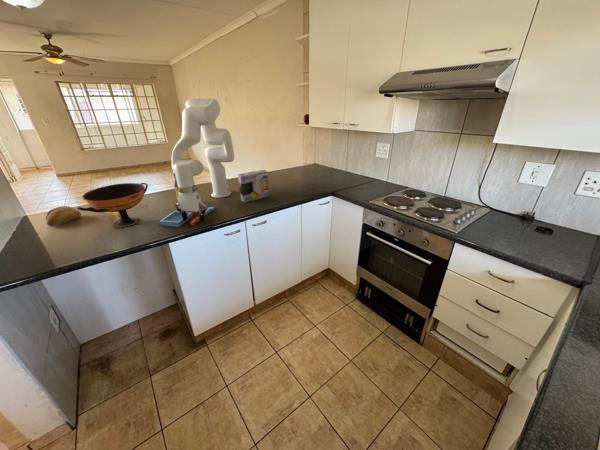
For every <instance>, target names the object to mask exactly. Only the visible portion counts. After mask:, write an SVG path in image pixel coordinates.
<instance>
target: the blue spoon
mask: <svg viewBox="0 0 600 450" xmlns="http://www.w3.org/2000/svg"><path fill="white" fill-rule="evenodd" d="M207 207H208V208H207V211H206V212H205V213H204V216H207V215H208V214H210V213H211V212H212V211H214V210H215V206H207Z"/></svg>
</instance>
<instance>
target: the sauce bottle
mask: <svg viewBox="0 0 600 450" xmlns="http://www.w3.org/2000/svg"><path fill="white" fill-rule="evenodd" d="M172 174H173V177H174V184H173V185H174V190H175V194H176V198H177V202H178V203H179V197H178V193H179V189H178V184H177V180H176V176H175V173H174V172H173V173H172Z"/></svg>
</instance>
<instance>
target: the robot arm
mask: <svg viewBox="0 0 600 450" xmlns="http://www.w3.org/2000/svg"><path fill="white" fill-rule="evenodd" d="M220 113H221V106H220V103H219V101H218V100H216V99H214V98H189V99H187V100H186V102H185V108H184V109H183V110H182V124H181V126H182V128H181V130H182V132H181V138H180V139H179V140H178V142H177V143H176V144H175V145H174V146H173V149H172V151H171V169H172V171H173V173H175V176H176V180H177V184H178V189H179V193H178V197H179V202H178V203H176V204H174V207H175V209H176V210H178V211H179V212H180V214H182V218H183V221H185V220H187V219H188V217H187V213H186V212H185V211H191V212H198V213H197V214H199V215H198V216H199V217H200V221H199V222H200V223H203V222H204V221H205V220H206V217H205V216H206V215H204V213H205V212H206V211H207V208H208V207H209V206H208V205H206V204H205V205H204V204H202V203H203V202H202V198H201V195H200V193H199V191H198V187H197V186H196V185H195V180H194V177H195V176H199V175H201V174H202V173H203V171H204V164H203V163H202V162H201V161H200V160H199V159H188V158H187V159H185V158H183V159H182V156H183V154H184V153H185V152H186V151H187V150H188V149H190V148H191V147H193V146H196V145H198V144H199V143H200V142H201V140H202V139H201V138H203V141H204V143H205V144H206V145H208V147H206V148H205V150H204V156H205V159H206V162H207V165H208V171H209V176H210V182H211V187H212V192H211V194H210V195H211V197H212V198H215V199H223V198H227V197H230V196H231V194H232V192H231V190H229V188H230V185H228V181H227V174H226V168H225V166H224V164H222V163H232V162H234V160H235V150H234V145H233V140H232V136H231V133H230V131H229V130H228V129H227V128H218V127H217V126H216V120H217V119H218V117H219V116H220ZM201 134H202V135H201ZM201 136H202V137H201ZM202 208H203V209H202Z"/></svg>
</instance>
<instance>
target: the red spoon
mask: <svg viewBox="0 0 600 450" xmlns="http://www.w3.org/2000/svg"><path fill="white" fill-rule="evenodd" d="M199 222H200V217H199V215H197V216H196V217H194V218H193V219H192V220H191V221H190V222H189V225H190V226H193V227H194V226H196V225H197V224H198V223H199Z"/></svg>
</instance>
